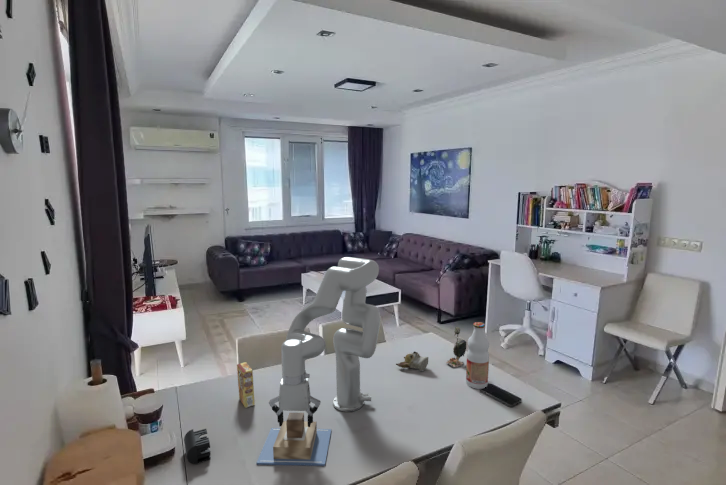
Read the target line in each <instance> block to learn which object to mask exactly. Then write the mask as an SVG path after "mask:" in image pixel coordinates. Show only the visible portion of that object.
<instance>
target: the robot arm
mask: <svg viewBox="0 0 726 485" xmlns="http://www.w3.org/2000/svg"><path fill="white" fill-rule="evenodd" d="M337 262H338V263H337V266H331V267H329V268H328V269H326V272H325V273H324V276H323V278H322V281H321V283H320V285H319V288H318V290H317V292H316V295H315V296H314V298H313V300H312V302H311V303H310V304H308V305H307V306H306V307H304V308H303V309H301V311H299V313H297V314H296V316H295V317H294V318H293V321H292V322H291V325H290V327H289V328H288V331H287V334H286V337H285V341H283V342H282V344H281V348H280V349H281V350H280V351H281V352H280V353H281V375H282V378H281V380H280V385H279V391H278V392H279V393H278V395H277V396H276V397H274V398H271V399H270V400H269V402H268V404H269V406H270V407H271V409H272V411H273V412H274V413H275V415H276V416H277V423H278V424H279V427H281V426H282V424H283V421H284V411H288V412H306V414H307V421H308V427H310V425H311V423H313V422H314V414H315V413H316V412H317V411H318V409H319V407H320V405H321V403H322V402H321V400H320V399H318V398H315V397H313V396H312V395H311V388H310V382H309V379H310V378H311V377H310V376H311V374H310V373H307V372H306V360H310V359H313V358H317V357H319V356H320V355H322V354H323V353H324V351H325V350H326V341H325V339H324V337H323V336H321V335H319V334H315V333H313V332H309V331H305V330H306V328H307V327H308V325H309V324H310V323H311V322H312V321H314V320H315V319H317V318H321V317H323V316H326V315H329V314H332V313H334V312H335V311H336V309H337V307H338V304H339V302H340V299H341V297H342V294H343V292H344V291H345V292H344V294H345V295H344V299H343V305H342V310H341V320H342V322H343V323H344V324H346V325H348V326H353V327H357V328H360V329H362V330H357V329H354V328H348V327H342V328H339V329H337V330H336V331H335V333H334V334H333V337H332V338H333V339H332V341H333V343H332V344H333V349H334V353H335V366H336V373H335V374H336V396H335V397H333V400H332V405H333V407H334V408H335V409H336V410H338V411H340V412H346V413H348V412H356V411H358V410H360V409H361V408H362V407H363V406H364V404H365V402H372V395H370V396H369V393H363V392H362V389H361V363H360V362H361V361H360V358H361V359H370V358H372V356H373V355H374V354H375V351H376V349H377V343H378V338H379V332H380V326H381V320H382V319H381V318H382V317H381V310H380V309H379V307H377V306H376V305H374V304H369V303H366V299H367V294H368V293H367V286H368V285H371V284H372V283H373V282H374V281H375V280H376V279H377V277H378V275H379V273H380V267H379V266H380V265H379V264H378V263H377V261H375V260H373V259H369V258H360V257H354V256H352V257H351V256H345V257H342V258H340V259H339V260H338V261H337ZM276 403H278V404H276ZM311 403H312V404H314V405H313V406H312V405H311Z"/></svg>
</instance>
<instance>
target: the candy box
mask: <svg viewBox="0 0 726 485" xmlns="http://www.w3.org/2000/svg"><path fill="white" fill-rule="evenodd" d="M236 371H237V373H236V374H237V385H238V386H237V388H238V399H239V400H240V402H241V404H242V405H243V407H244V408H245V409H247V408H249V407H252V406H255V401H256V400H255V389H254V375H253V374H254V372H253V369H252V367H251V366H250V365H249V364H248V363H247V361H246V362H244V361H243V362H241V363H237V364H236Z"/></svg>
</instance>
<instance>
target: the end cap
mask: <svg viewBox="0 0 726 485" xmlns="http://www.w3.org/2000/svg"><path fill="white" fill-rule="evenodd" d="M207 430H208V429H207V428H202V429H199V430H196V431H194V428H193V429H190V430H188V431H187V432H186V434H185V435H184V438H183V443H184V448H185V454H186V455H185V456H186V460H187V462H189V463H191V464H197V465H198V464H201V463H205V462H208V461H210V460H211V455H212V454H211V450H210V448H211V444H210V438H209V437H208V436H207V434H208V431H207Z"/></svg>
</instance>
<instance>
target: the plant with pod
mask: <svg viewBox="0 0 726 485" xmlns="http://www.w3.org/2000/svg"><path fill="white" fill-rule="evenodd" d="M460 333H461V328H460V327H458V326H456V327H455V329H454V337H455V336H456V335H457V338H456V342H455V344H454V345H453V348H452V349H453V350H452V351H453V355H454V356H455V357H451V358H449V359H448V360H447V361H446V362H445V363H446V364H448V365H449V366H451V367H452V368H458V367H461V366H463V364H464V361H461V360H460V358H461V357H465V354H466V351H467V342H468V339H467V340H465V339H462V338H461V339H459V335H460Z"/></svg>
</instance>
